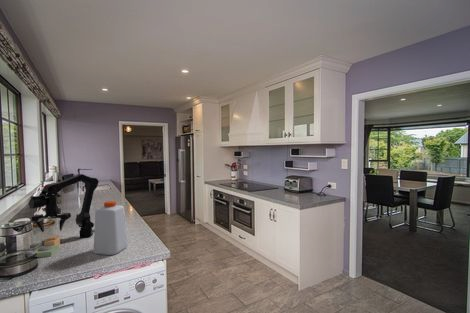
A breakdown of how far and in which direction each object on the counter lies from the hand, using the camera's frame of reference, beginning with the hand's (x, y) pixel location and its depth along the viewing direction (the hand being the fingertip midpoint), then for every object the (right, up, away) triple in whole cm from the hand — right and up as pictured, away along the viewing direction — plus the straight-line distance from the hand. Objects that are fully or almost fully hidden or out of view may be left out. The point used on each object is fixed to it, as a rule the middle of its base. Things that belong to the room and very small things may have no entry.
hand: (51, 231), depth 152 cm
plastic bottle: (+38, -10, -5) cm, 39 cm away
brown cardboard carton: (0, -10, 0) cm, 10 cm away
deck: (0, -10, -4) cm, 11 cm away
